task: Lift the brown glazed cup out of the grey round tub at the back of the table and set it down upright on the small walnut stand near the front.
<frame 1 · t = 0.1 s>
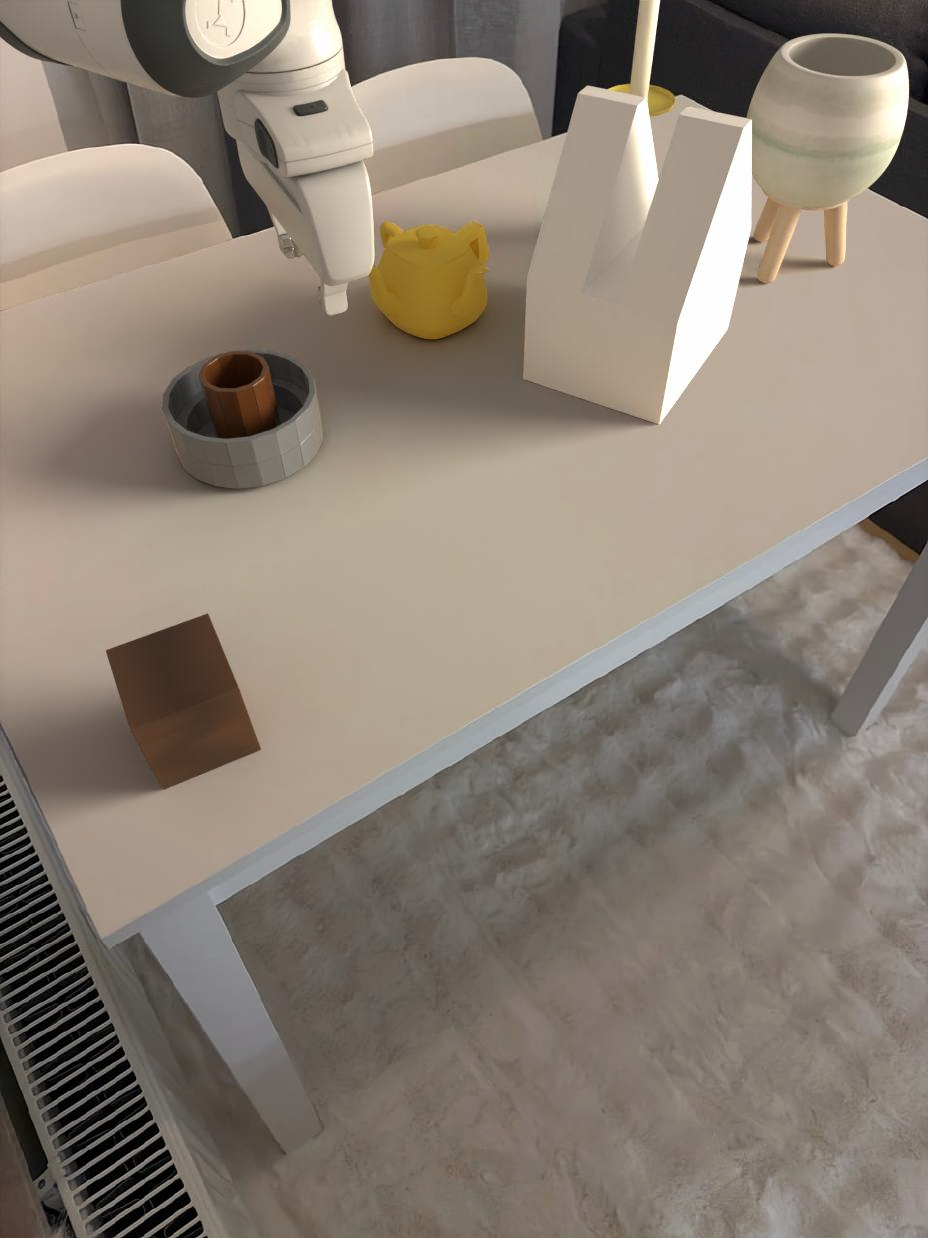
hand: (313, 280, 74), 19 cm above the table, tool pointing down, fingers open, 8 cm apart
grey round tub: (251, 443, 90), on the table
cup: (250, 439, 90), resting on grey round tub
planter: (785, 262, 110), on the table
candle: (622, 230, 116), on the table
stand: (199, 731, 69), on the table
teapot: (431, 320, 104), on the table
white v-notched block: (627, 354, 99), on the table
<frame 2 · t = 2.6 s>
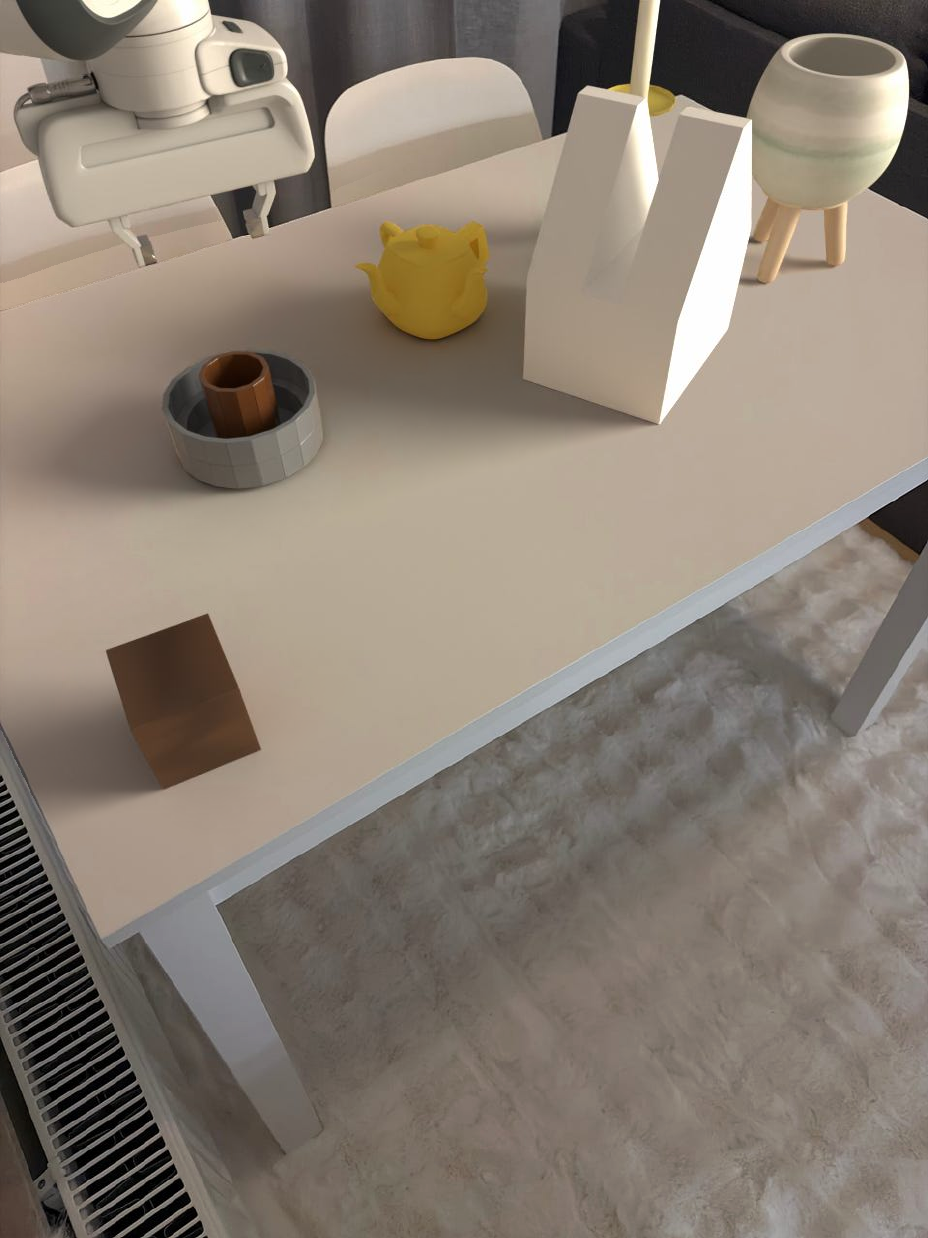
hand: (203, 248, 75), 20 cm above the table, tool pointing down, fingers open, 8 cm apart
nothing on the table moved.
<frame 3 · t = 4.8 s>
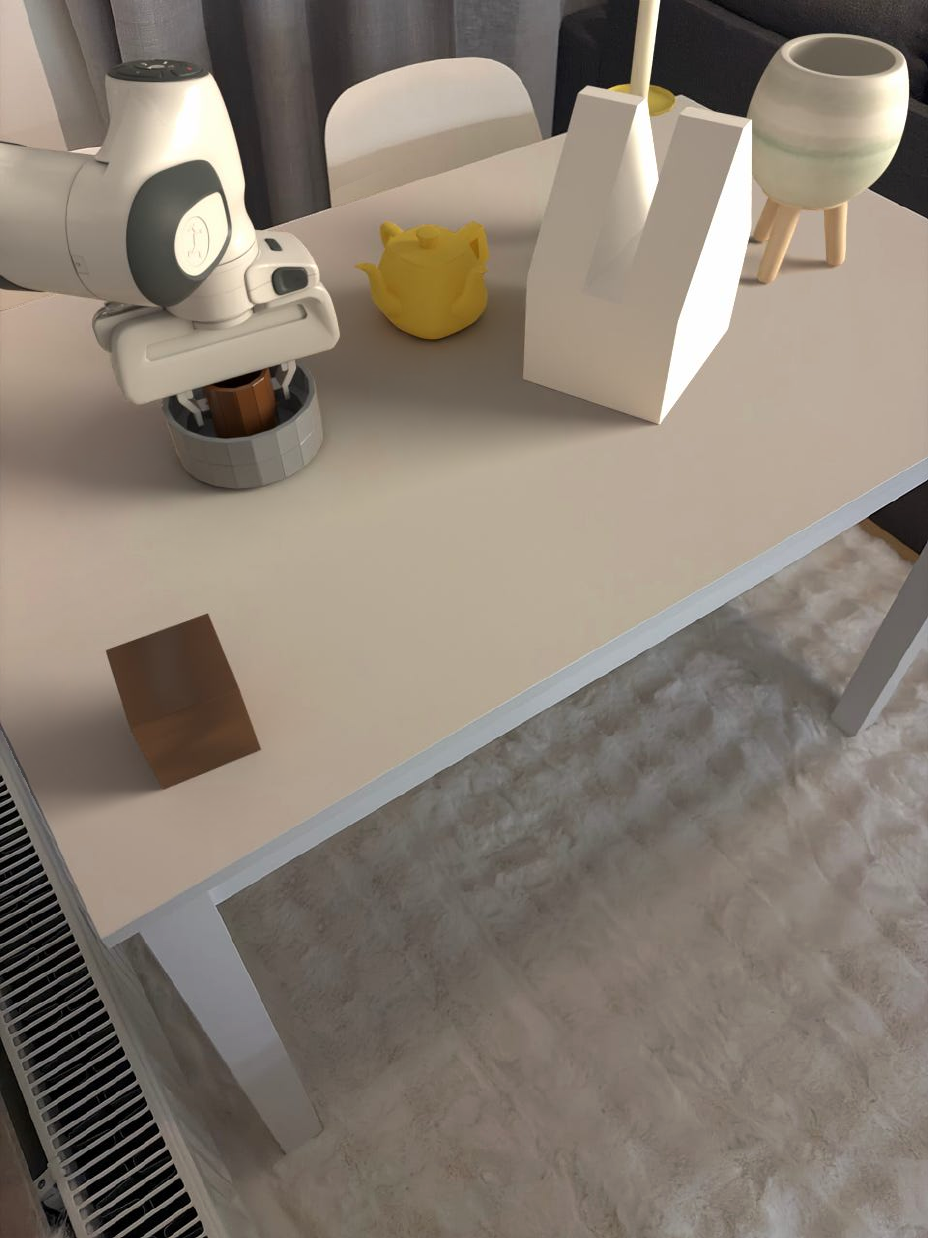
hand: (243, 409, 87), 4 cm above the table, tool pointing down, fingers closed on cup, 6 cm apart
cup: (250, 439, 90), point 1 cm above the table, touching gripper, grey round tub
everything else where it was.
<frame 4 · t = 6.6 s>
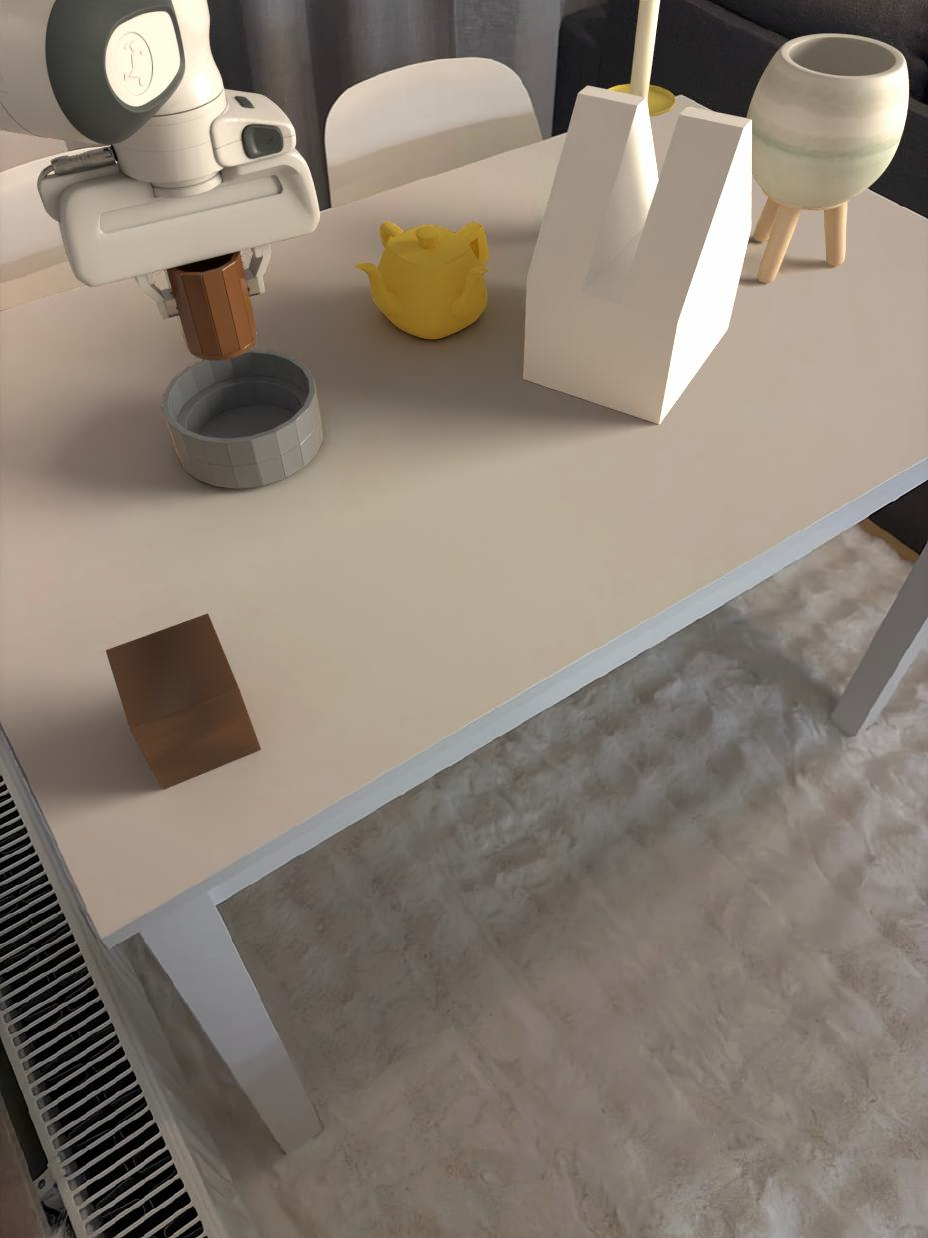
hand: (213, 302, 78), 15 cm above the table, tool pointing down, fingers closed on cup, 6 cm apart
cup: (221, 340, 81), point 12 cm above the table, touching gripper
everything else where it was.
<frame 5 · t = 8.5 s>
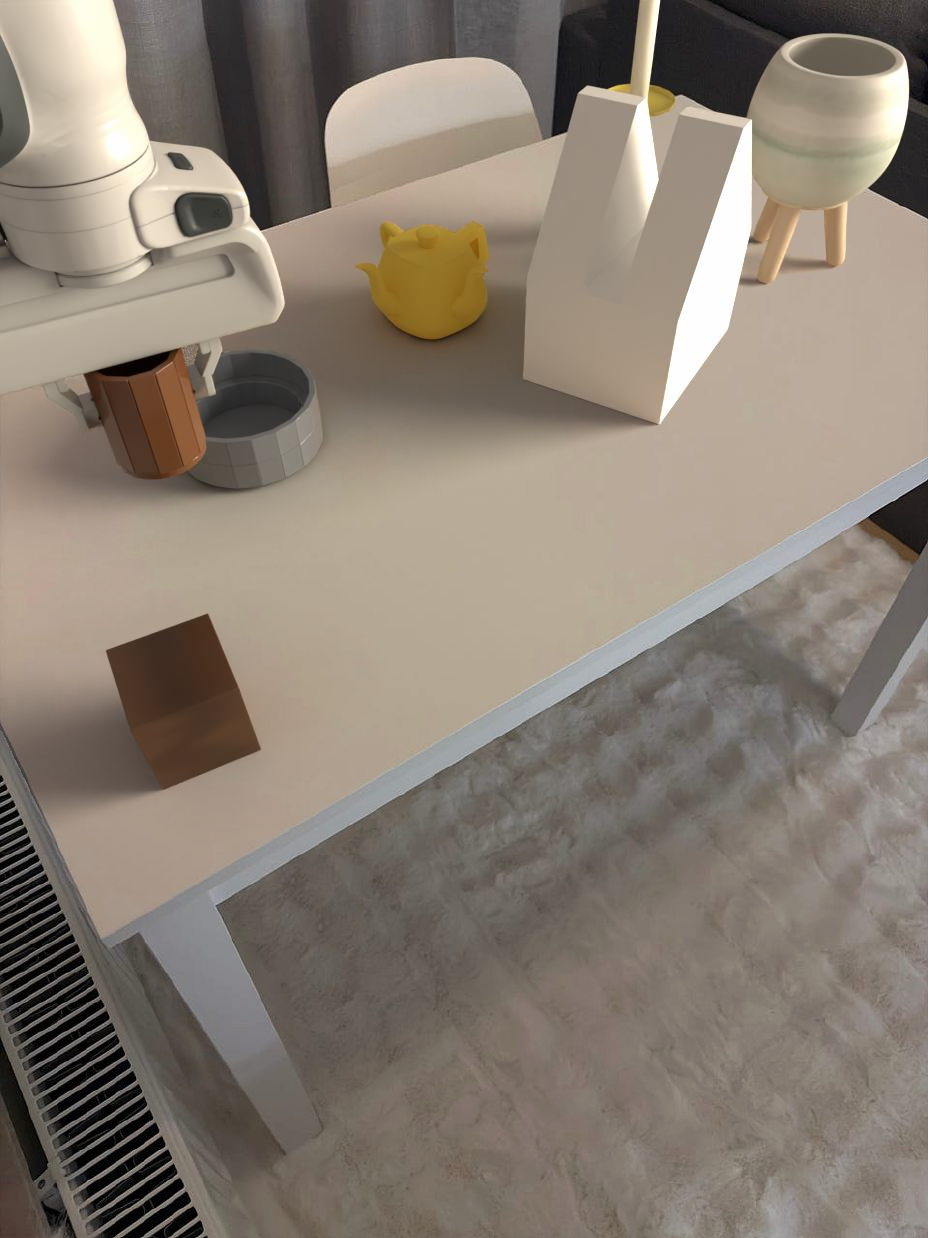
hand: (148, 408, 61), 20 cm above the table, tool pointing down, fingers closed on cup, 6 cm apart
cup: (161, 450, 64), point 17 cm above the table, touching gripper
everything else where it was.
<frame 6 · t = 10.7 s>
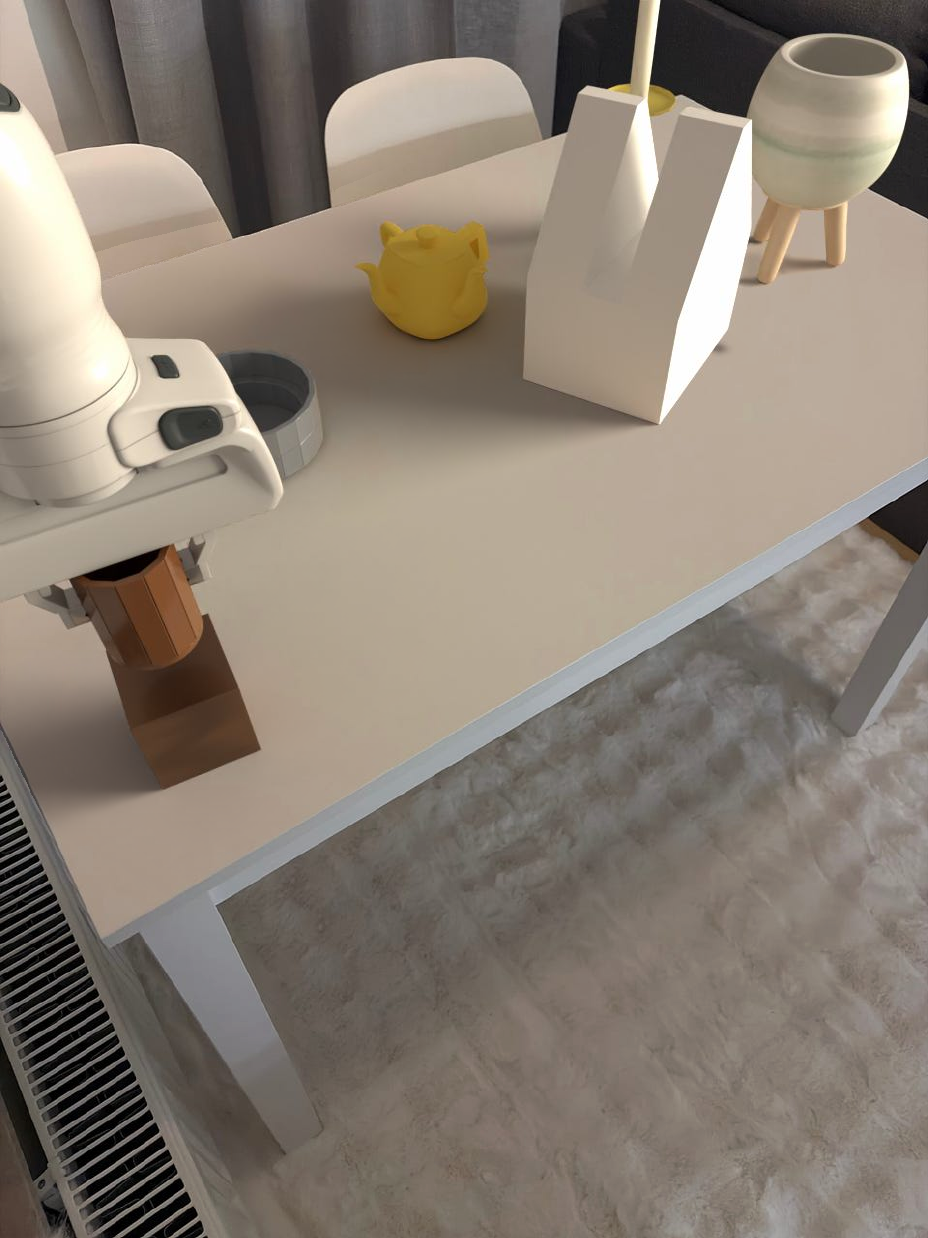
hand: (139, 596, 57), 15 cm above the table, tool pointing down, fingers closed on cup, 6 cm apart
cup: (155, 632, 60), point 12 cm above the table, touching gripper
everything else where it was.
when the fingers open (11 cm above the table, at t = 12.3 s): cup stays where it is, resting on stand.
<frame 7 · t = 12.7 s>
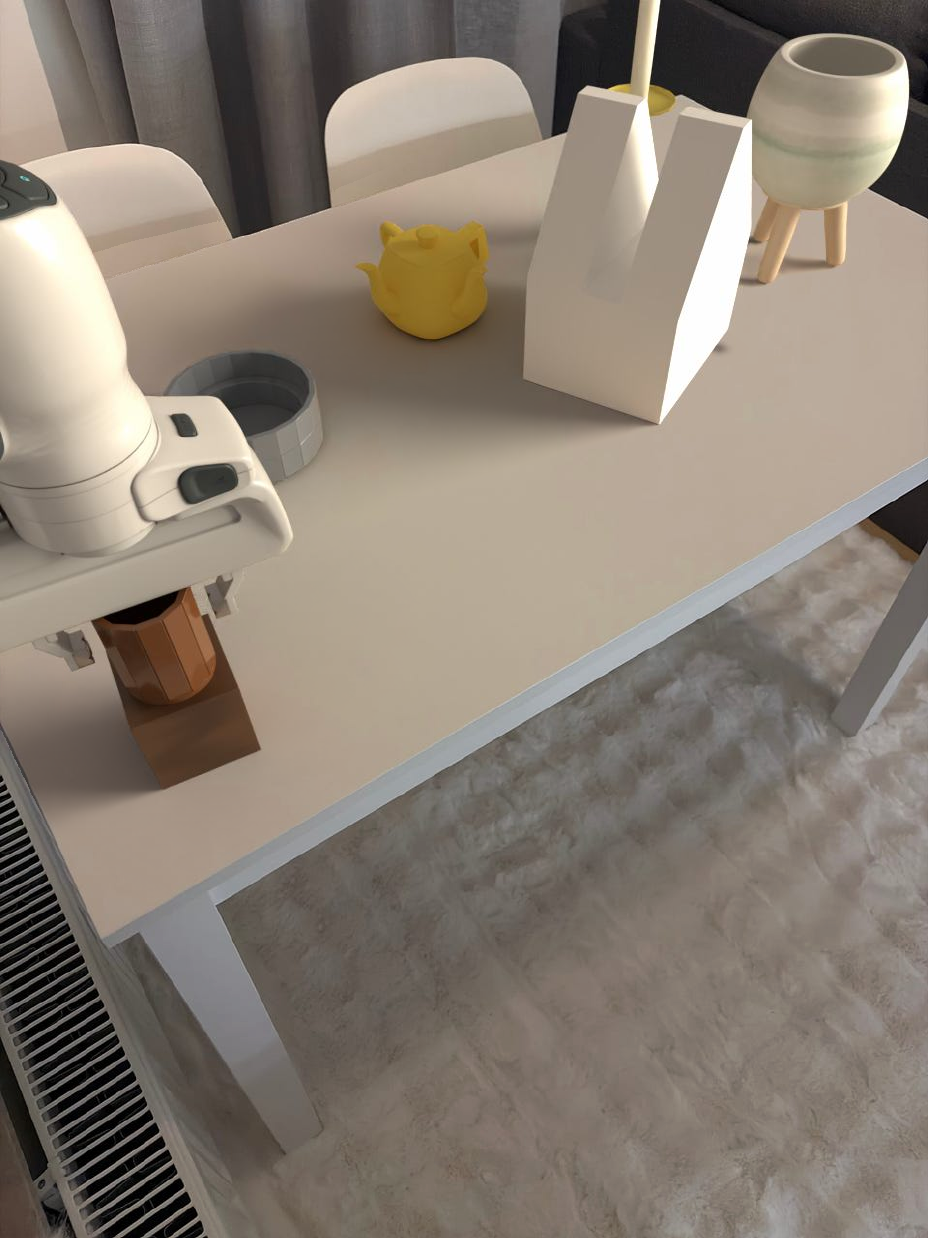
hand: (154, 634, 60), 12 cm above the table, tool pointing down, fingers open, 8 cm apart
cup: (170, 668, 63), point 8 cm above the table, touching stand
everything else where it was.
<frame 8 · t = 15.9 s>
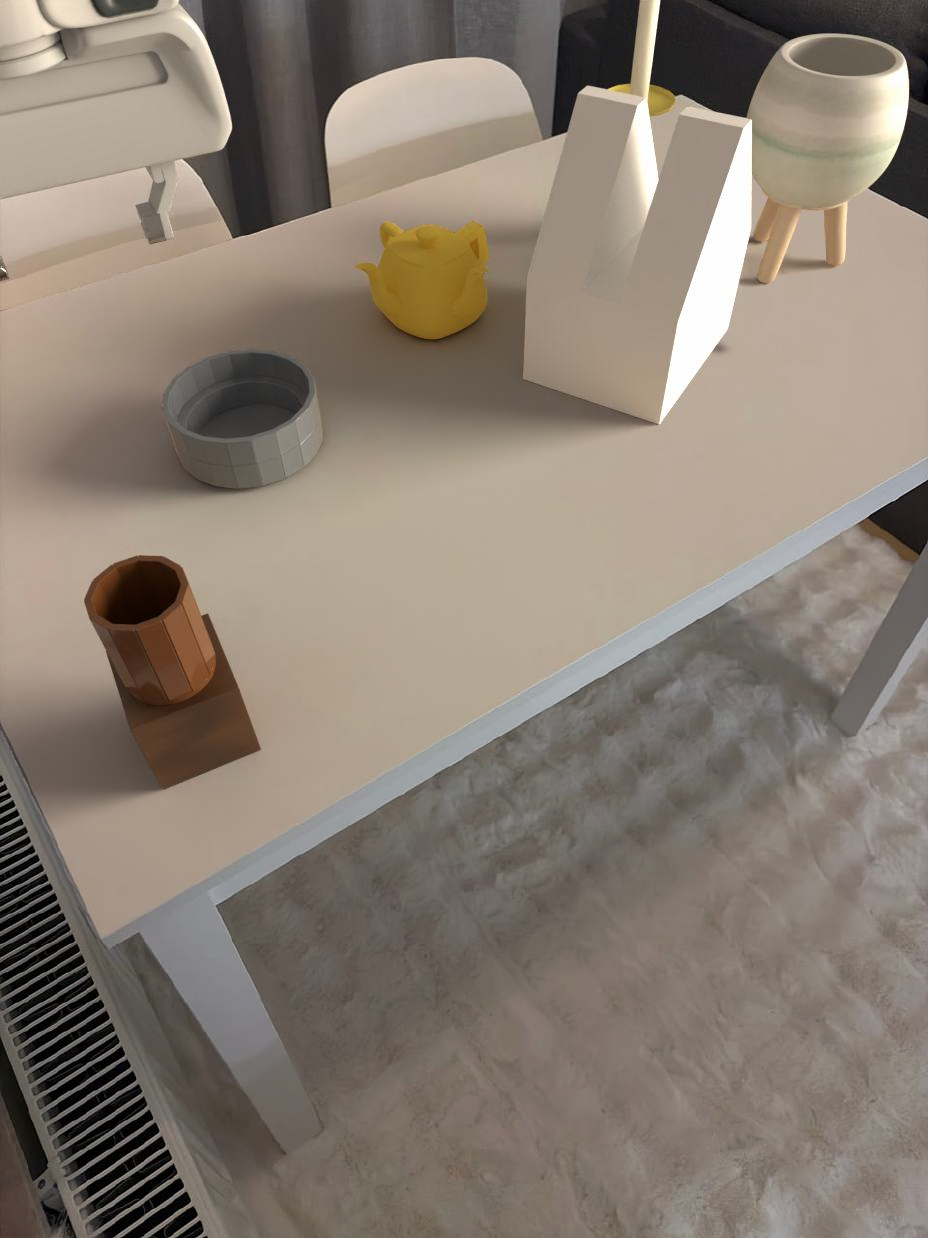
hand: (79, 257, 53), 31 cm above the table, tool pointing down, fingers open, 8 cm apart
nothing on the table moved.
at the end: cup 0.0 cm off-centre on the stand, point 8.0 cm above the stand's base; cup tilted 0°; the gripper is holding nothing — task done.
